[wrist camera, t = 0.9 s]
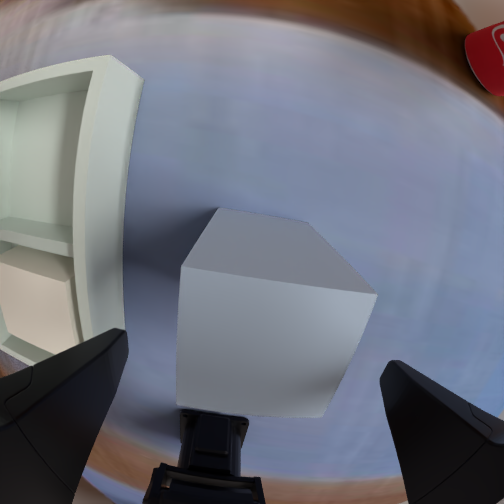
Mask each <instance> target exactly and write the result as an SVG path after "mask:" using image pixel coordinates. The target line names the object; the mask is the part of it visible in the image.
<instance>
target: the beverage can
mask: <svg viewBox="0 0 504 504" xmlns="http://www.w3.org/2000/svg"><path fill="white" fill-rule="evenodd" d="M465 52H466V56H467V60H468V63H469V65H470V67H471V69H472V71H473V73H474V75H475V76H476V78H477V79H478V80H479V82H480V83H481V84H482V85H483V86H484V87H485V88H486V89H487V90H488V91H489V92H490V93H492V94H493V95H495V96H504V21H503V22H500V23H498V24H495V25H492V26H489V27H486V28H484V29H481V30H478V31H476V32H473V33H471V34H469V35H467V37H466V39H465Z"/></svg>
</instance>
